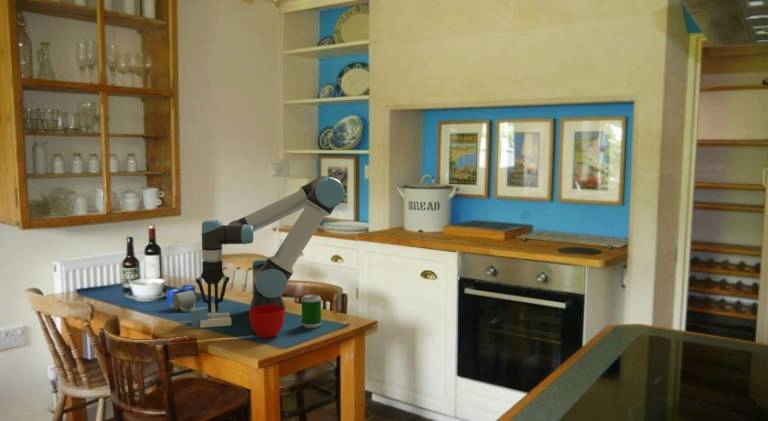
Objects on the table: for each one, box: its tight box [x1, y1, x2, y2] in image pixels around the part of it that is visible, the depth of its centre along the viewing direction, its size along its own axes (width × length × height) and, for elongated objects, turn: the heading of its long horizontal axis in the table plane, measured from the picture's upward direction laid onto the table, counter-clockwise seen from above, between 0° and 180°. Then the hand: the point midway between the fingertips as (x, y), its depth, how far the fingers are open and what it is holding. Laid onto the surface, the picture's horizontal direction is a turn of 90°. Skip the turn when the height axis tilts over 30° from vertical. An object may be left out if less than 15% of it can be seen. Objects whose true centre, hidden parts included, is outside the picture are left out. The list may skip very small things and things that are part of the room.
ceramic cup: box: [248, 305, 286, 339], centre depth 235 cm, size 13×17×10 cm
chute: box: [180, 312, 232, 330], centre depth 246 cm, size 18×10×4 cm, turn 107°
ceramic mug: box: [172, 290, 197, 313], centre depth 273 cm, size 11×8×8 cm
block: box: [190, 306, 208, 327], centre depth 245 cm, size 6×6×6 cm
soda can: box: [301, 293, 322, 329], centre depth 246 cm, size 8×8×12 cm
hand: (213, 319), depth 247 cm, fingers closed
